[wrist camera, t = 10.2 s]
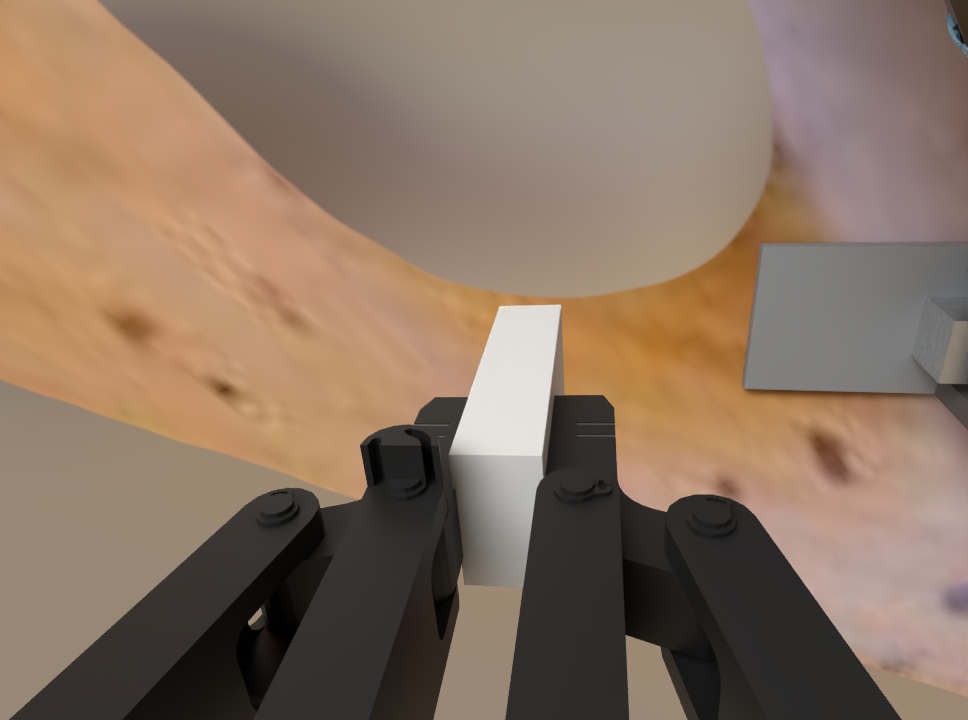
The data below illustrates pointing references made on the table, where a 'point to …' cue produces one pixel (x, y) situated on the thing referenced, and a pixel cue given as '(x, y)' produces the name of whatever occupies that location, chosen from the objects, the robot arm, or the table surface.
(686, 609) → the robot arm
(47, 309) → the table surface
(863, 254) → the grey angular piece
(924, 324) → the grey block
